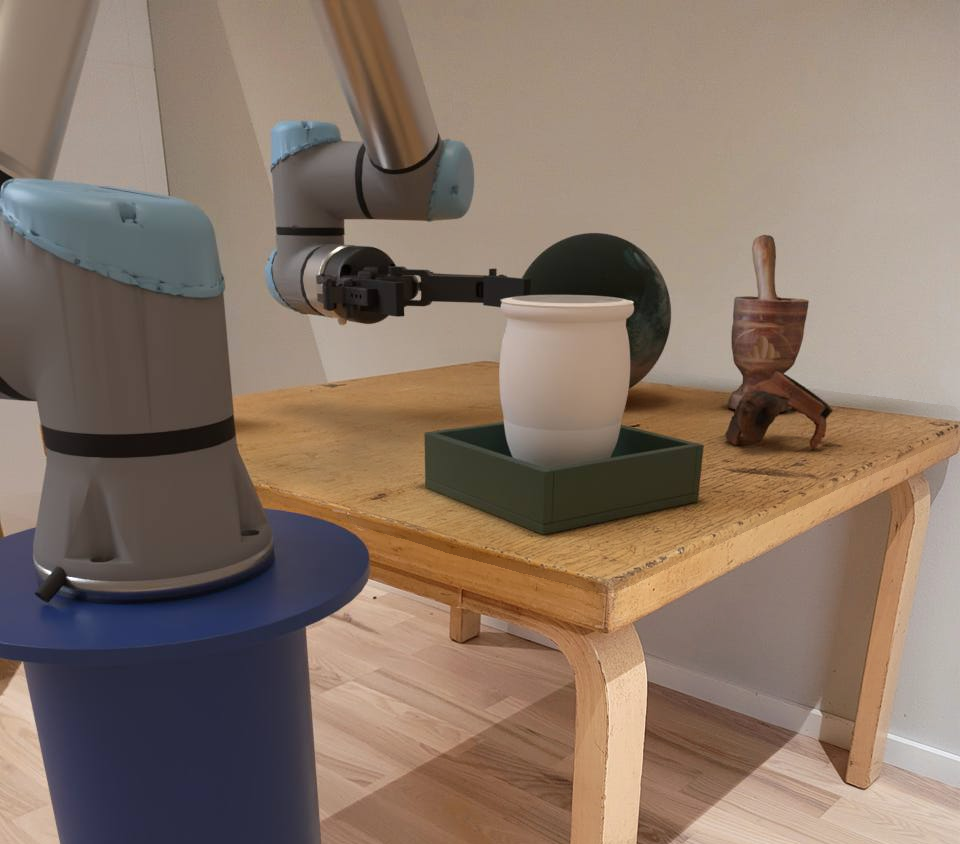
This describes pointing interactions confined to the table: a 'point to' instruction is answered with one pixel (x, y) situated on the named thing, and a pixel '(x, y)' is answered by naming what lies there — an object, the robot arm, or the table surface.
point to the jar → (564, 376)
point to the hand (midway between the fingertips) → (466, 297)
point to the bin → (562, 478)
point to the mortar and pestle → (765, 326)
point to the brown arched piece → (776, 409)
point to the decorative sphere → (610, 288)
